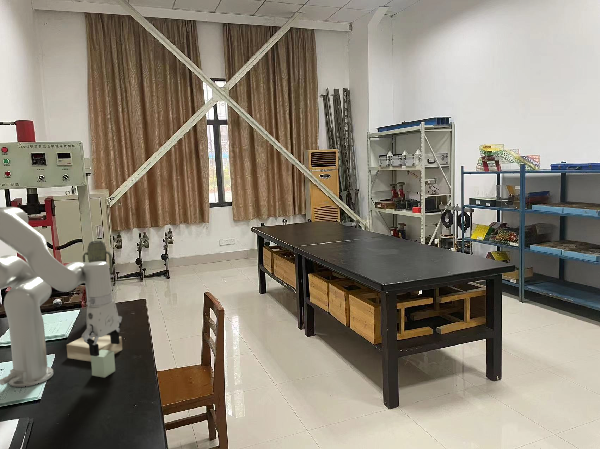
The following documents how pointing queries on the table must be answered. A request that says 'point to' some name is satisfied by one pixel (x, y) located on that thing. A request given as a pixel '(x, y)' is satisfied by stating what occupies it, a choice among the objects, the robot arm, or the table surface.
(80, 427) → the table surface
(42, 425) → the table surface
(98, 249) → the grey tall piece
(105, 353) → the sage block
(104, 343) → the birch plinth
